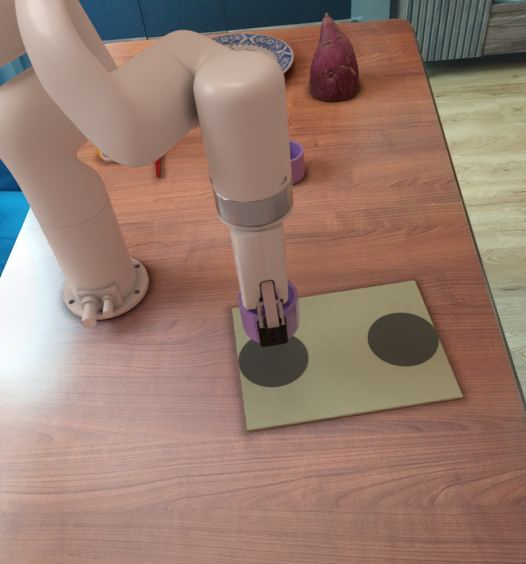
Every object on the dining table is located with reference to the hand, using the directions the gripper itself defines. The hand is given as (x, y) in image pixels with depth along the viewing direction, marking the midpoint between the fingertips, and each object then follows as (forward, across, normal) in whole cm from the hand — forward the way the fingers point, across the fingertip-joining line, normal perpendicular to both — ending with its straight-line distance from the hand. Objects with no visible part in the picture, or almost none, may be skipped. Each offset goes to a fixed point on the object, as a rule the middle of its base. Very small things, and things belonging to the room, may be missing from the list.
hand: (269, 318), depth 69 cm
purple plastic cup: (+1, 0, 0) cm, 1 cm away
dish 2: (+8, -40, +7) cm, 42 cm away
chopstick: (+8, -56, -15) cm, 59 cm away
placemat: (+8, 0, +8) cm, 12 cm away
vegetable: (+8, -66, +21) cm, 70 cm away
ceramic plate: (+8, -80, +2) cm, 81 cm away
